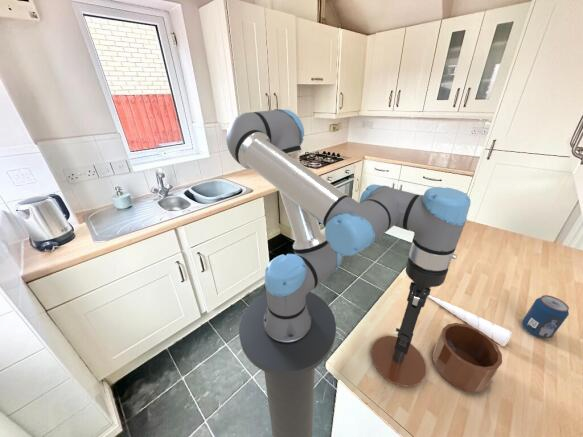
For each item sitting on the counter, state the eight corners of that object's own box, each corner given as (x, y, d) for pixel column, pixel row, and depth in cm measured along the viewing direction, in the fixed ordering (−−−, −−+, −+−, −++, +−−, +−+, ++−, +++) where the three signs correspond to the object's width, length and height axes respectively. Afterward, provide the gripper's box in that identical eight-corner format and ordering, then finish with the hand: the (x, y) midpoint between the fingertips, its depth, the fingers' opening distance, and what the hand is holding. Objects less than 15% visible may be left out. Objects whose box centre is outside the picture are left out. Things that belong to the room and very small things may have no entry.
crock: (428, 372, 64) (438, 350, 60) (436, 337, 73) (445, 315, 69) (487, 403, 58) (503, 381, 53) (487, 360, 67) (501, 338, 62)
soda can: (532, 319, 78) (550, 291, 72) (557, 338, 72) (579, 310, 66) (514, 323, 77) (531, 295, 71) (538, 342, 71) (559, 314, 65)
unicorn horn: (432, 291, 89) (435, 281, 87) (509, 341, 71) (516, 331, 69) (424, 296, 87) (427, 286, 85) (502, 350, 69) (509, 339, 67)
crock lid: (363, 367, 66) (367, 347, 62) (380, 330, 76) (384, 311, 71) (418, 400, 59) (427, 380, 54) (429, 355, 68) (437, 335, 64)
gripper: (439, 308, 40) (412, 381, 50) (455, 239, 57) (433, 303, 67) (392, 290, 44) (376, 361, 54) (420, 230, 61) (404, 292, 71)
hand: (408, 329), depth 60 cm, fingers open, 13 cm apart
